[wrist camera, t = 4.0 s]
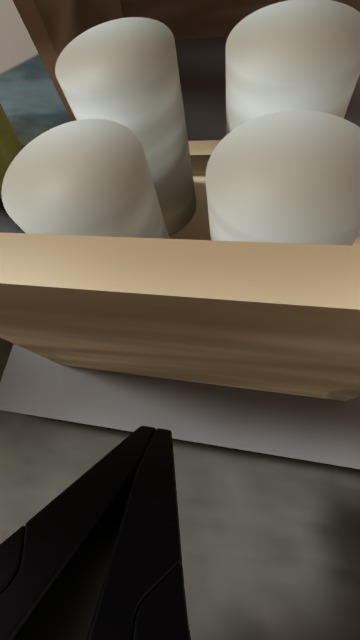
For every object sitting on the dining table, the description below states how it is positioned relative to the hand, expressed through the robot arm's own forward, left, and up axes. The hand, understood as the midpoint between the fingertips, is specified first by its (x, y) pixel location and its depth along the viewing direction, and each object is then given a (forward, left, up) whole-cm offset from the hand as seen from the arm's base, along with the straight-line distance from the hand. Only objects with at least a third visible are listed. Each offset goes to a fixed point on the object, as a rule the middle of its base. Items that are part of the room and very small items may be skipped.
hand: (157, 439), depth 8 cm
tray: (+8, 0, -5) cm, 10 cm away
